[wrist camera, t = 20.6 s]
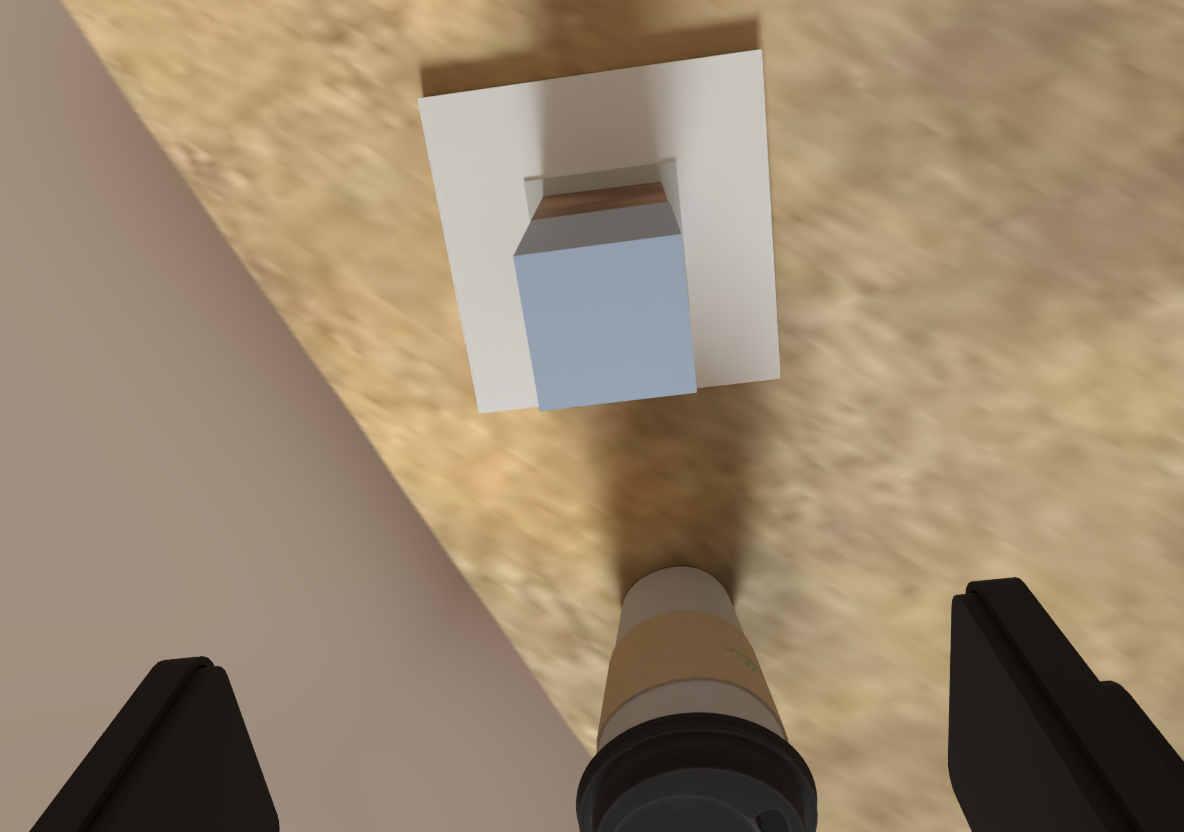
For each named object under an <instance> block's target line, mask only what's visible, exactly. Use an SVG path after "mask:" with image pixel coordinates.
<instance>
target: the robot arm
mask: <svg viewBox="0 0 1184 832" xmlns="http://www.w3.org/2000/svg"><path fill="white" fill-rule="evenodd" d="M948 769H949V775H950V780H951V784H952V787H953V790H954V793H955V795H956V798H957V800H958V802H959V804H960V806H961V809H962V811H963V813H964V815H965V817H966V820H967V822H968V824H969V826H970V828H971V831H972V832H1184V761H1183V760H1182V759H1181V758H1180V756H1179V755H1178V754H1177V753H1176V751H1175V750H1174V749H1173V748H1172V746H1171V745H1170V744H1169V743H1168V741H1167V740H1166V739H1165V738H1164V736H1163V735H1162V734H1161V733H1160V731H1159V730H1158V729H1157V728H1156V726H1155V725H1154V724H1153V723H1152V721H1151V720H1150V719H1149V718H1148V716H1147V715H1146V714H1145V712H1144V711H1143V710H1142V709H1141V707H1140V706H1139V705H1138V704H1137V702H1136V701H1135V700H1134V699H1133V697H1132V696H1131V695H1130V694H1129V693H1128V692H1127V691H1126V690H1125V689H1124V688H1123V687H1122V686H1121V685H1120V684H1118V683H1116V682H1113V681H1099V680H1098V678H1097V677H1096V676H1095V674H1094V673H1093V672H1092V671H1091V669H1090V668H1089V667H1088V665H1087V664H1086V663H1085V661H1084V660H1083V659H1082V657H1081V656H1080V655H1079V654H1078V652H1077V651H1076V650H1075V648H1074V647H1073V646H1072V644H1071V643H1070V642H1069V641H1068V639H1067V638H1066V637H1065V635H1064V634H1063V633H1062V631H1061V630H1060V629H1059V627H1058V626H1057V625H1056V624H1055V622H1054V621H1053V620H1052V618H1051V617H1050V616H1049V614H1048V613H1047V612H1046V611H1045V609H1044V608H1043V607H1042V605H1041V604H1040V603H1039V601H1038V600H1037V599H1036V598H1035V596H1034V595H1033V594H1032V592H1031V591H1030V590H1029V588H1028V587H1027V586H1026V584H1025V583H1024V582H1023V581H1022V580H1021V579H1020V578H1016V577H1013V578H1003V579H992V580H982V581H972V582H970V583H968V585H967V588H966V594H962V595H955V596H954V597H953V600H952V611H951V653H950V695H949V737H948ZM29 832H279V819H278V815H277V813H276V810H275V807H274V804H273V801H272V799H271V796H270V793H269V790H268V787H267V785H266V782H265V779H264V776H263V773H262V771H261V768H260V765H259V762H258V759H257V757H256V754H255V751H254V748H253V745H252V743H251V740H250V737H249V735H248V732H247V729H246V726H245V723H244V721H243V718H242V715H241V712H240V709H239V706H238V703H237V701H236V698H235V695H234V692H233V689H232V686H231V684H230V681H229V678H228V675H227V674H226V671H225V670H224V669H223V668H222V667H219V666H214V664H213V662H212V661H211V660H210V659H209V658H207V657H203V656H200V657H190V658H180V659H170V660H163V661H160V662H158V663H157V664H156V665H155V666H154V667H153V668H152V669H151V670H150V672H149V673H148V674H147V676H146V677H145V678H144V680H143V681H142V682H141V684H140V685H139V686H138V688H137V689H136V690H135V692H134V693H133V694H132V696H131V697H130V698H129V700H128V701H127V703H126V704H125V705H124V706H123V708H122V709H121V710H120V712H119V713H118V714H117V716H116V717H115V718H114V720H113V721H112V722H111V724H110V725H109V726H108V728H107V729H106V730H105V732H104V733H103V734H102V736H101V737H100V738H99V740H98V741H97V742H96V744H95V745H94V746H93V748H92V749H91V750H90V752H89V753H88V754H87V756H86V757H85V758H84V759H83V761H82V762H81V763H80V765H79V766H78V767H77V769H76V770H75V771H74V773H73V774H72V775H71V777H70V778H69V779H68V781H67V782H66V783H65V785H64V786H63V787H62V789H61V790H60V791H59V793H58V794H57V795H56V797H55V798H54V799H53V801H52V802H51V803H50V805H49V806H48V808H47V809H46V810H45V811H44V813H43V814H42V815H41V817H40V818H39V819H38V821H37V822H36V823H35V825H34V826H33V828H32V829H31V830H30V831H29Z"/></svg>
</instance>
